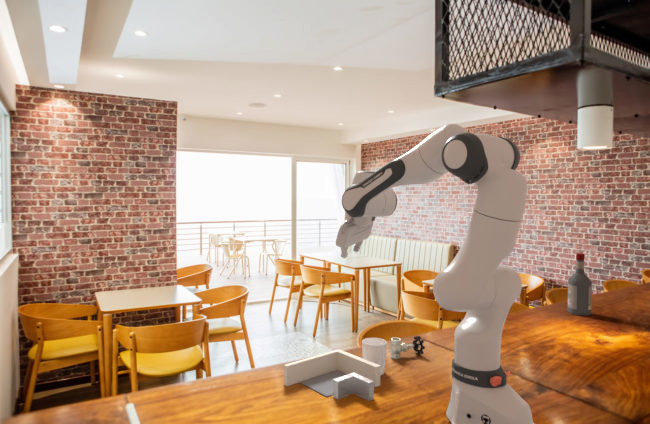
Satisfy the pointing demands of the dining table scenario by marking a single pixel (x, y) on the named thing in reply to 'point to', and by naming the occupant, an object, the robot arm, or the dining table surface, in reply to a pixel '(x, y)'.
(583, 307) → the liquor
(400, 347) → the valve
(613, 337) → the dining table surface
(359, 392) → the bracket
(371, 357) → the white cup
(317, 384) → the mat
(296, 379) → the corner walls
